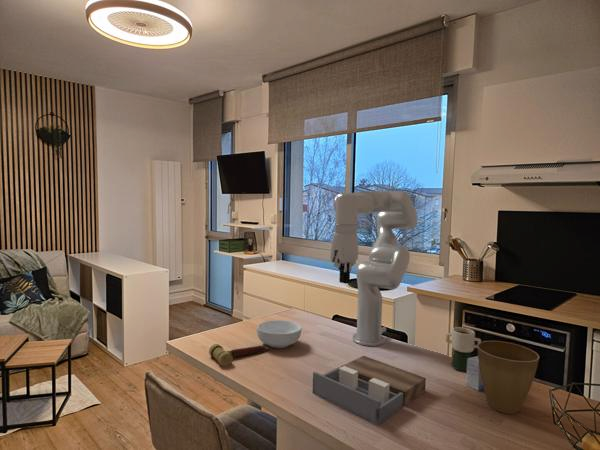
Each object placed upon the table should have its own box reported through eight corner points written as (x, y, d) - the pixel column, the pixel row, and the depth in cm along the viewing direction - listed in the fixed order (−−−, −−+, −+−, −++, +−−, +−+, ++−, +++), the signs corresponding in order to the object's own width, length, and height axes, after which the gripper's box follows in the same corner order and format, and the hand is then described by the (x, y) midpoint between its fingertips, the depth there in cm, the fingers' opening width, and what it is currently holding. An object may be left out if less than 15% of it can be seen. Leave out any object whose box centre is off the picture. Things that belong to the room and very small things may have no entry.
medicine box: (478, 391, 115) (479, 363, 114) (465, 385, 119) (467, 357, 118) (495, 386, 119) (497, 358, 118) (482, 380, 122) (484, 353, 122)
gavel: (262, 337, 147) (276, 346, 138) (261, 349, 147) (275, 359, 139) (209, 344, 135) (220, 354, 127) (208, 357, 135) (219, 368, 127)
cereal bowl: (309, 342, 151) (309, 324, 150) (284, 356, 137) (285, 337, 136) (273, 333, 160) (274, 316, 159) (247, 346, 146) (247, 327, 145)
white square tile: (344, 365, 116) (339, 368, 114) (358, 371, 113) (352, 374, 111) (343, 382, 117) (338, 384, 115) (357, 388, 113) (352, 391, 111)
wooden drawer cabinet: (363, 367, 130) (363, 355, 129) (425, 391, 114) (425, 378, 114) (340, 378, 121) (341, 366, 121) (404, 406, 106) (405, 391, 105)
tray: (338, 379, 120) (339, 360, 120) (402, 407, 105) (403, 386, 105) (312, 392, 112) (313, 372, 111) (377, 425, 96) (378, 401, 96)
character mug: (480, 368, 131) (482, 330, 130) (478, 376, 125) (480, 336, 124) (446, 361, 136) (448, 324, 136) (442, 368, 130) (444, 330, 129)
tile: (373, 377, 109) (368, 380, 107) (389, 383, 106) (384, 387, 104) (373, 395, 109) (368, 398, 107) (388, 401, 106) (383, 405, 104)
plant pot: (536, 428, 97) (540, 366, 95) (471, 411, 104) (474, 353, 103) (534, 402, 110) (538, 346, 108) (476, 388, 117) (479, 336, 116)
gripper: (350, 228, 141) (348, 278, 142) (323, 229, 130) (321, 283, 131) (367, 229, 135) (366, 281, 137) (341, 231, 125) (339, 287, 126)
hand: (344, 282), depth 134 cm, fingers closed
